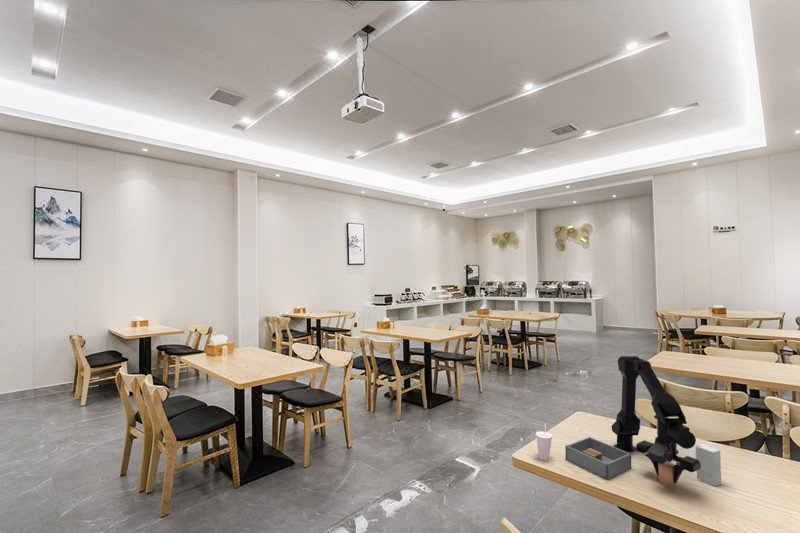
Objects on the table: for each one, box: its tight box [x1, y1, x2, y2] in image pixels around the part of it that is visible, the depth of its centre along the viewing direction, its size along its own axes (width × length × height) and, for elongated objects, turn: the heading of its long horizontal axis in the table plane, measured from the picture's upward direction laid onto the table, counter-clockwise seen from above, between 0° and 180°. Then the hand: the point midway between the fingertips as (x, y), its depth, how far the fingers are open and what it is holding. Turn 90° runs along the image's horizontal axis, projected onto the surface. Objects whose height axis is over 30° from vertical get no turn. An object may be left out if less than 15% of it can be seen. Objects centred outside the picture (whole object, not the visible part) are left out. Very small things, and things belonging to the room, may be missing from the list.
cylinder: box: [657, 461, 676, 489], centre depth 143 cm, size 5×5×7 cm
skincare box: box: [696, 443, 722, 487], centre depth 144 cm, size 6×4×12 cm
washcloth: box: [677, 444, 697, 459], centre depth 162 cm, size 12×18×3 cm, turn 142°
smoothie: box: [534, 423, 553, 462], centre depth 161 cm, size 6×6×14 cm
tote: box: [565, 436, 632, 481], centre depth 156 cm, size 15×17×6 cm
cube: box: [582, 448, 602, 461], centre depth 155 cm, size 5×5×5 cm
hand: (666, 479), depth 143 cm, fingers open, 5 cm apart
